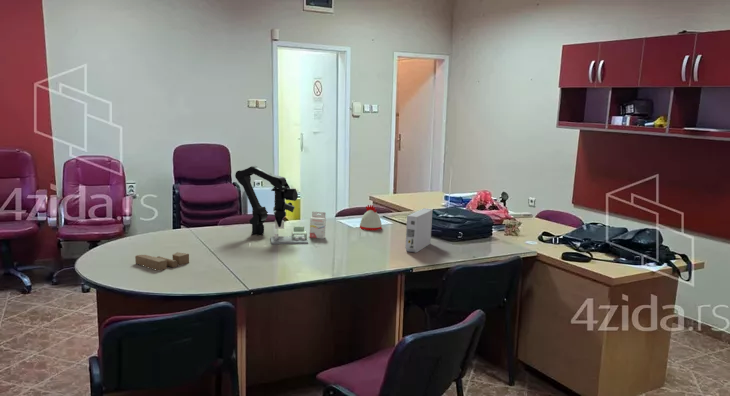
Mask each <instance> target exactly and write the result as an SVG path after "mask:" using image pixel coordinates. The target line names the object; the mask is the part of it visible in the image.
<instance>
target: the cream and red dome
mask: <svg viewBox="0 0 730 396" xmlns="http://www.w3.org/2000/svg"><path fill="white" fill-rule="evenodd" d="M365 209H366V212H364V214H363V215H362V217H361V220H360V223H359V228H361V229H360V230H363V229H365V230H364V231H379V230H378V229H381V230H382V227H383V226H382V221H381V217H380V215H379V214H378V212H377V208H376V206H374V205H373V204H370V205H369V204H367V206H365Z"/></svg>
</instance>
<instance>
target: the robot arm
mask: <svg viewBox="0 0 730 396" xmlns="http://www.w3.org/2000/svg"><path fill="white" fill-rule="evenodd" d="M253 175H255V176H256V177H259V178H261V179H263V180H265V181H268V182H269V183H270V185H272V187H273V188H272V189H271V190H270V191H271V192H274V206H273V215H274V219H275V220H276V221H277V224H278V226H279V227H281V223H282V220H283V219H284V218H285V217H286V216H287V213H286V211H289V212H290V213H294V210H295V208H296V207H295V206H294V205H293V202H295V201H297V200H298V197H299V194H298V191H297V189H296V188H291V187H290V185H289V184H288V182H287V178H286V177H284V176H281V175H276V174H272V173H271V172H269V171H266V170H264V169H262V168H260V167H258V166H256V165H252V166H250V167H247V168H244V169H240V170H237V171H236V172H235V174H234V176H235V180H237V182H238V183H239V184H240V185H241V186H242V188H243V190H244V192H245V194H246V196H247V199H248V202H249V204H250V206H251V209H252V212H251V214H252V217H251V218H250V219H249V224H250V225H251V235H264V233H265V225H264V223H265V222H266V220H267V219H268V216H269V214H268V211H267V208H266V206H262V205H261V204H260V201H259V199H258V197H257V194H256V192H255V190H254V188H253V185H252V181H251V179H252V178H251V176H253ZM285 200H286V201H290V202H288V203H287V202H286V201H285ZM291 201H293V202H291Z"/></svg>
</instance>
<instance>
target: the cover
mask: <svg viewBox="0 0 730 396" xmlns="http://www.w3.org/2000/svg"><path fill="white" fill-rule="evenodd" d="M291 236H292V239H294V236H305V239H307V240H308V233H307V231H306V230H305V226H301V225H300V226H293V230H291Z"/></svg>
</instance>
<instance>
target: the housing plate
mask: <svg viewBox="0 0 730 396" xmlns="http://www.w3.org/2000/svg"><path fill="white" fill-rule="evenodd" d="M270 244H271V245H308V244H309V241H308V238H307V239H305V236H304V235H294V239H292V235H290V236H289V235H287V236H285V235H284V236H282V235H280V236H279V234H278V233H274V236H270Z"/></svg>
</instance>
